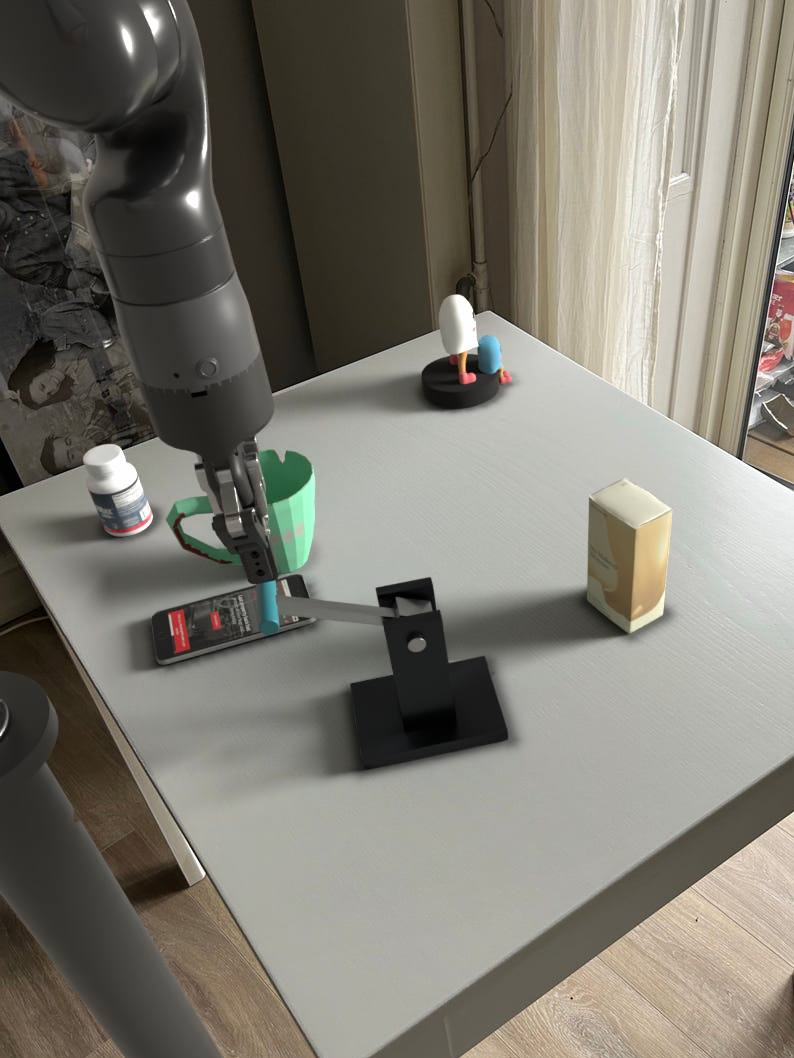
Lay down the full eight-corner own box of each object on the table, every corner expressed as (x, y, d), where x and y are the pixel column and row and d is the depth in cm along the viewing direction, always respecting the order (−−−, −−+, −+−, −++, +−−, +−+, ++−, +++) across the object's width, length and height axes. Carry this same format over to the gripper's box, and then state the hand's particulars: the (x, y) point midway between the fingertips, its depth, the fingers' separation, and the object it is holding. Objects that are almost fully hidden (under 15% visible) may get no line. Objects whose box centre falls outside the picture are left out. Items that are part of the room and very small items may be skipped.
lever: (256, 639, 70) (261, 614, 69) (253, 591, 74) (258, 566, 73) (429, 656, 75) (438, 633, 74) (418, 610, 79) (426, 587, 78)
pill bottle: (96, 524, 108) (67, 455, 102) (139, 503, 110) (112, 434, 104) (119, 544, 105) (89, 474, 99) (162, 522, 107) (136, 452, 101)
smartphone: (149, 613, 95) (301, 572, 98) (151, 619, 95) (303, 577, 98) (156, 662, 90) (316, 617, 92) (158, 668, 90) (318, 623, 93)
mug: (319, 519, 105) (300, 438, 98) (343, 572, 98) (324, 489, 91) (183, 558, 102) (153, 478, 95) (198, 616, 95) (167, 533, 88)
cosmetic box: (585, 601, 92) (584, 493, 84) (620, 581, 94) (622, 474, 85) (631, 637, 88) (634, 528, 80) (667, 616, 90) (674, 507, 81)
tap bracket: (364, 770, 80) (335, 658, 71) (352, 692, 86) (324, 580, 77) (508, 739, 81) (497, 625, 72) (485, 664, 87) (473, 551, 78)
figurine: (520, 397, 120) (514, 303, 112) (431, 415, 119) (419, 321, 111) (501, 362, 127) (494, 271, 119) (417, 378, 126) (404, 287, 117)
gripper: (137, 316, 63) (210, 532, 75) (125, 419, 53) (212, 649, 65) (254, 296, 64) (308, 514, 75) (263, 395, 54) (324, 626, 66)
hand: (263, 576), depth 70 cm, fingers closed
